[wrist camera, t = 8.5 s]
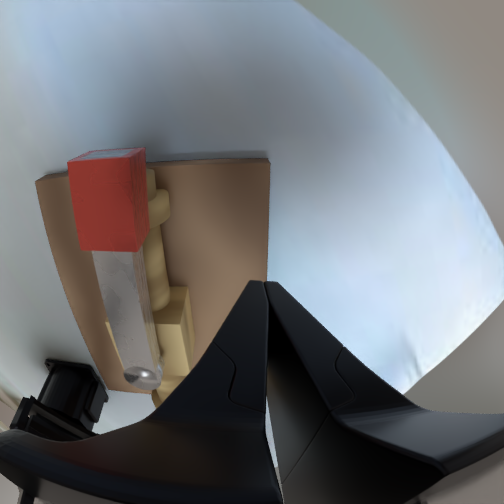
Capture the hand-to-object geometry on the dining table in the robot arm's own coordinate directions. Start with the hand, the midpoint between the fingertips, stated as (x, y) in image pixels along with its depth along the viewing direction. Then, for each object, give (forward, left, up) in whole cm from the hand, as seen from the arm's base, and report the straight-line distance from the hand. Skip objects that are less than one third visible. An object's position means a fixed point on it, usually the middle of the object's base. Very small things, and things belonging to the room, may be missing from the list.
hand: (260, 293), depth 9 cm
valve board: (-7, -9, -12) cm, 17 cm away
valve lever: (-6, -4, -6) cm, 9 cm away
